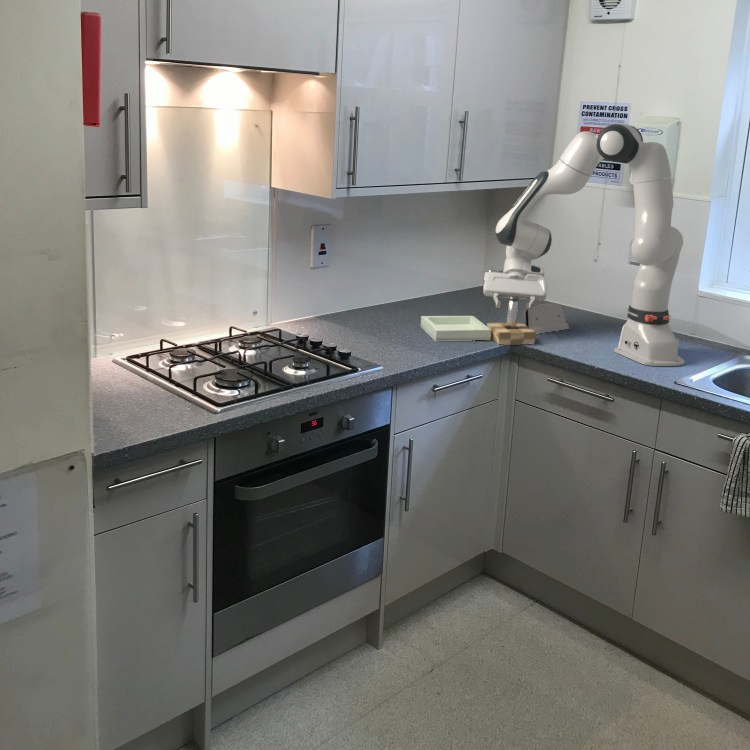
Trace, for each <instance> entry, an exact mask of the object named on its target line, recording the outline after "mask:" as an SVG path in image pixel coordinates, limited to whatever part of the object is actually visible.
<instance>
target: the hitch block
mask: <svg viewBox="0 0 750 750" xmlns="http://www.w3.org/2000/svg"><path fill="white" fill-rule="evenodd" d="M506 325H507V322H487V323H486V326H487V327H488V328H489V329H490V330H491V337H490V340H492V339H493V340H494V341H495V342H497V343H498V344H504V345H503V346H516V345H517V346H521V345H520V344H522V343H524V344H526V343H536V332H535V331H533V330H532V329H530V328H529V327H528V326H526V325H525V324H524V322H521V321H519V322H516V329H506ZM493 340H492V341H493ZM494 341H493V342H494ZM495 342H494V343H495ZM497 343H496V344H497ZM498 344H497V345H498Z"/></svg>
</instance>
